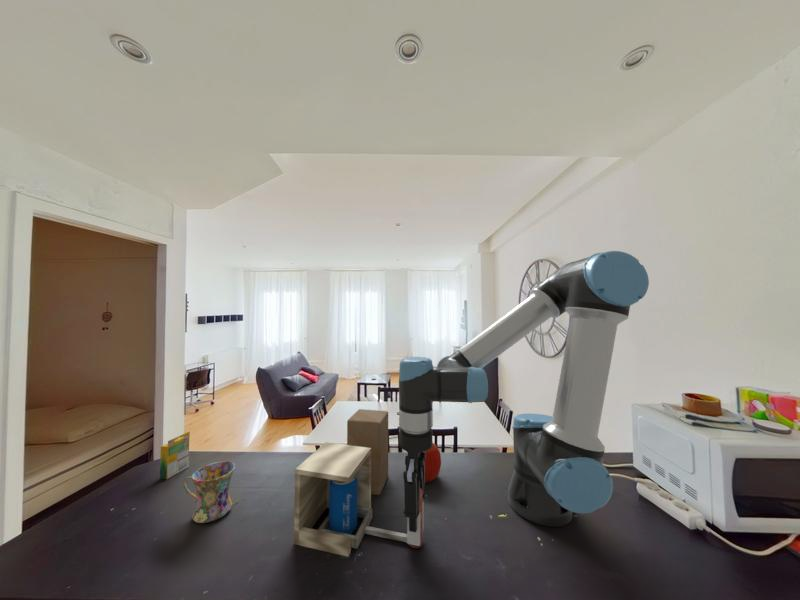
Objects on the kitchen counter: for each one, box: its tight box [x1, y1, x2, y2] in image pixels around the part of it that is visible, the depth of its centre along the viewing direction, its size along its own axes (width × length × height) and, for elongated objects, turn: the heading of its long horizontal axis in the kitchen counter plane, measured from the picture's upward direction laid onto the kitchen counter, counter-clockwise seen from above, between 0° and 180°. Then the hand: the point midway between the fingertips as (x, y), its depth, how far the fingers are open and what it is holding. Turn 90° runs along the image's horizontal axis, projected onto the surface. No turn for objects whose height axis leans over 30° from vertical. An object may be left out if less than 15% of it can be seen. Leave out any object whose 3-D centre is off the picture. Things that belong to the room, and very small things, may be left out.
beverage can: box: [328, 475, 358, 535], centre depth 66 cm, size 6×6×12 cm
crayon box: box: [159, 431, 191, 480], centre depth 89 cm, size 7×3×12 cm, turn 169°
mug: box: [182, 460, 236, 524], centre depth 71 cm, size 12×9×11 cm
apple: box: [425, 441, 442, 483], centre depth 86 cm, size 10×10×12 cm
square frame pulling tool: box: [317, 488, 424, 550], centre depth 64 cm, size 23×10×11 cm, turn 76°
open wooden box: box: [293, 442, 372, 558], centre depth 66 cm, size 13×13×16 cm
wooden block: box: [346, 408, 389, 496], centre depth 83 cm, size 10×10×20 cm
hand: (415, 536), depth 61 cm, fingers closed on square frame pulling tool, 3 cm apart
